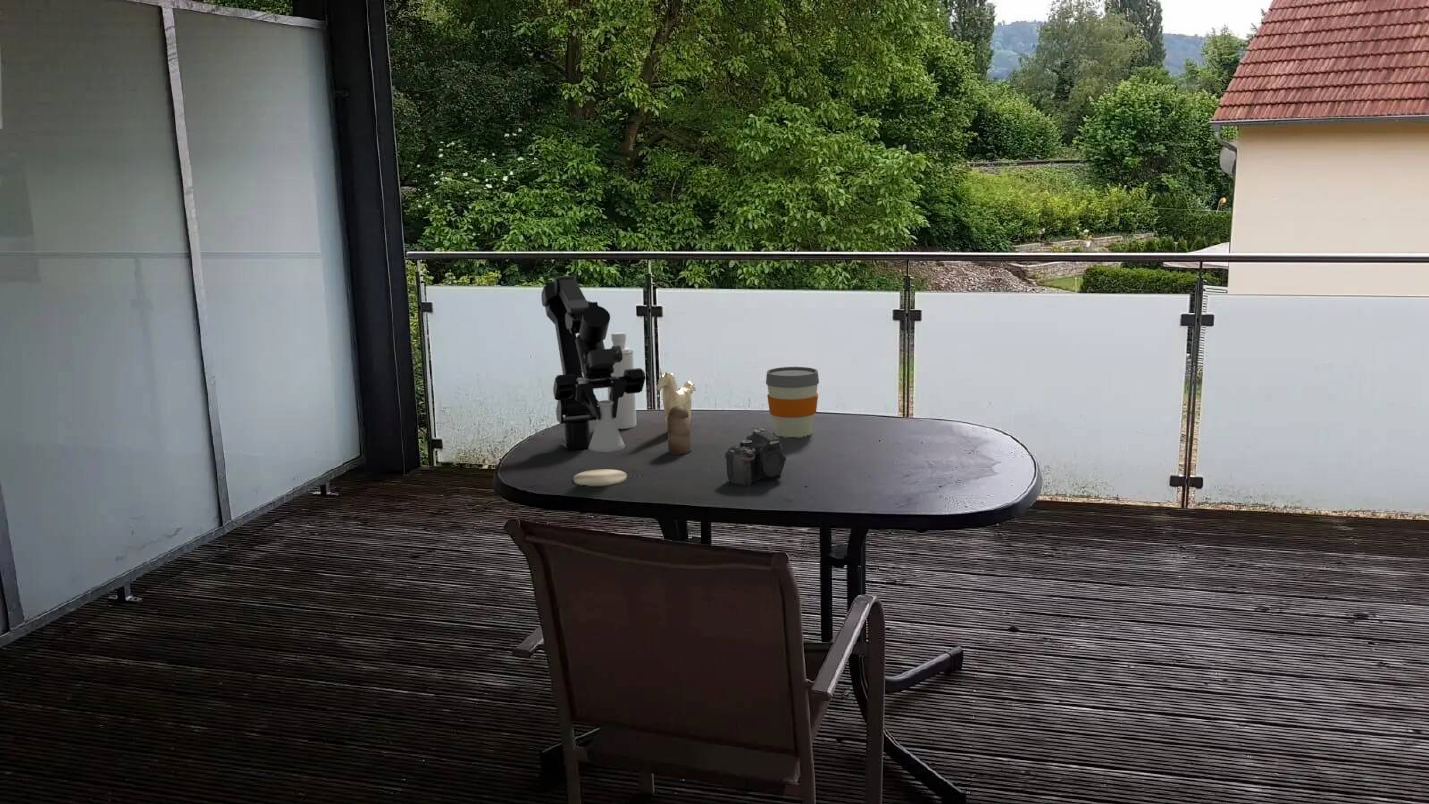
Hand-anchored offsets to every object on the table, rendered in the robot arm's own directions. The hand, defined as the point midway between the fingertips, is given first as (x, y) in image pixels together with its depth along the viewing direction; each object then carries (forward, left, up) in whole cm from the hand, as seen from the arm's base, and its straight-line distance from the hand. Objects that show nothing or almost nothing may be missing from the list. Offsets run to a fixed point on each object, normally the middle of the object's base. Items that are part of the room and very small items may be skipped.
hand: (607, 417), depth 234 cm
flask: (-1, 0, -7) cm, 7 cm away
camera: (+12, +28, -13) cm, 34 cm away
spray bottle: (-48, +15, -13) cm, 52 cm away
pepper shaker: (-17, +20, -13) cm, 29 cm away
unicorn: (-37, +26, -13) cm, 47 cm away
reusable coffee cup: (-22, +50, -13) cm, 56 cm away
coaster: (-2, -2, -13) cm, 13 cm away
